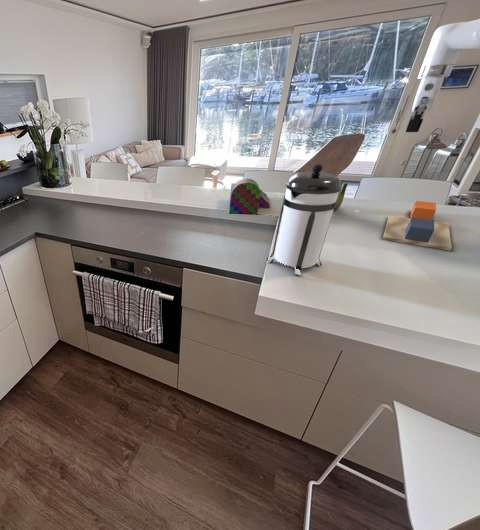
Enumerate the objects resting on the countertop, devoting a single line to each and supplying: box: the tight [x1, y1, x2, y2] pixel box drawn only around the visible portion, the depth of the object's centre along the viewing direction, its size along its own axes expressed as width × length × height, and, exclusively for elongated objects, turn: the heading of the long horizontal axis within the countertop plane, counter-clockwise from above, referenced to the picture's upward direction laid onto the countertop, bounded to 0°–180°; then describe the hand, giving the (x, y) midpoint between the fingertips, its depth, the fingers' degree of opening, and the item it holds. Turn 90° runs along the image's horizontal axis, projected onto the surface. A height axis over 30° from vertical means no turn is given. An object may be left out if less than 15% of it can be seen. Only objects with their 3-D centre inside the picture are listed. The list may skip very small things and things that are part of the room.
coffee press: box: [266, 163, 343, 271], centre depth 82 cm, size 17×16×30 cm
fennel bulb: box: [334, 181, 349, 211], centre depth 120 cm, size 6×5×12 cm
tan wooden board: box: [382, 215, 453, 252], centre depth 99 cm, size 16×22×1 cm
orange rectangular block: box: [409, 200, 437, 220], centre depth 109 cm, size 6×9×4 cm, turn 138°
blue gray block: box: [405, 216, 435, 243], centre depth 94 cm, size 6×9×4 cm, turn 138°
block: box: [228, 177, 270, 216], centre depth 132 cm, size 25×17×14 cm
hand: (412, 130), depth 101 cm, fingers open, 9 cm apart
